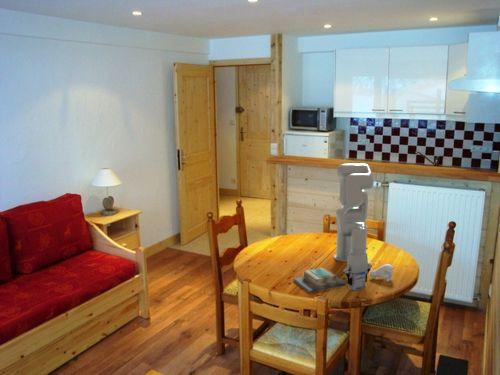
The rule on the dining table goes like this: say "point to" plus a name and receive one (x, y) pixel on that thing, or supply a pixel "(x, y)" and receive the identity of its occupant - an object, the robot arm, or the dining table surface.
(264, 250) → the dining table surface
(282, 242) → the dining table surface
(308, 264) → the dining table surface
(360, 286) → the medicine box
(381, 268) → the grey rock
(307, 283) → the plinth
